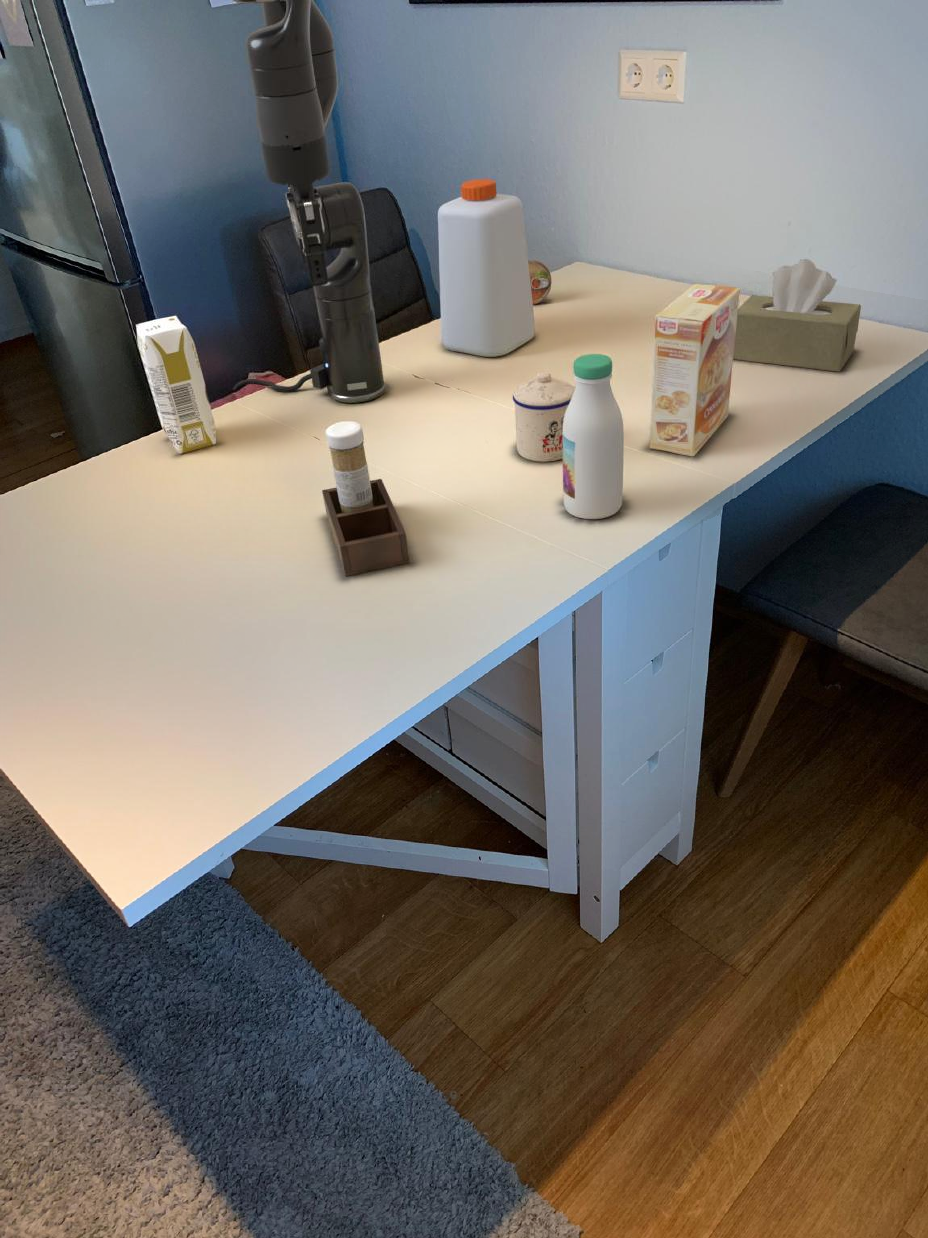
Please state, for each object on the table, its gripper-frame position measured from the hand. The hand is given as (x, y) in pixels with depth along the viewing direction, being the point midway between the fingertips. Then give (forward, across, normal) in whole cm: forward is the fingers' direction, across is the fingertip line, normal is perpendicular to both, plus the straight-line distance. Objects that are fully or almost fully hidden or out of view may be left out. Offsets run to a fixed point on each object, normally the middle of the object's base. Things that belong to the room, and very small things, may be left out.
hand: (315, 272), depth 119 cm
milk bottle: (+27, +24, +30) cm, 47 cm away
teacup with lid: (+29, +5, +30) cm, 42 cm away
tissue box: (+30, -12, +79) cm, 85 cm away
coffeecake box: (+28, +9, +50) cm, 59 cm away
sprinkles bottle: (+27, +18, -1) cm, 32 cm away
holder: (+27, +21, 0) cm, 35 cm away
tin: (+34, -62, +44) cm, 83 cm away
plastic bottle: (+33, -42, +33) cm, 62 cm away
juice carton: (+31, -19, -23) cm, 43 cm away
